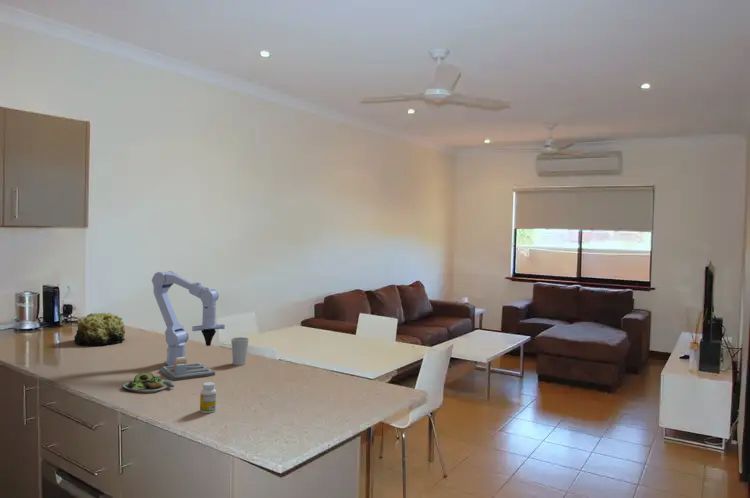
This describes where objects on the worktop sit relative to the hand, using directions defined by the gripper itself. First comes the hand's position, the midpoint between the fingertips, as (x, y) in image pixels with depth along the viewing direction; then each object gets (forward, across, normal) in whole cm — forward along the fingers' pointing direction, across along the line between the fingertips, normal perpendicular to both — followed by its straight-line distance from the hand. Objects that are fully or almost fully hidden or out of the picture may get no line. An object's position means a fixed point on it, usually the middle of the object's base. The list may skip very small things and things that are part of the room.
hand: (208, 345), depth 256 cm
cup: (+11, +16, +1) cm, 19 cm away
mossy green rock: (+11, -30, +80) cm, 86 cm away
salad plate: (+11, -31, -18) cm, 37 cm away
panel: (+10, -11, -5) cm, 16 cm away
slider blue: (+9, -16, -12) cm, 22 cm away
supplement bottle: (+11, -21, -58) cm, 63 cm away
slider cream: (+9, -12, 0) cm, 15 cm away
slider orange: (+9, -14, -6) cm, 18 cm away
